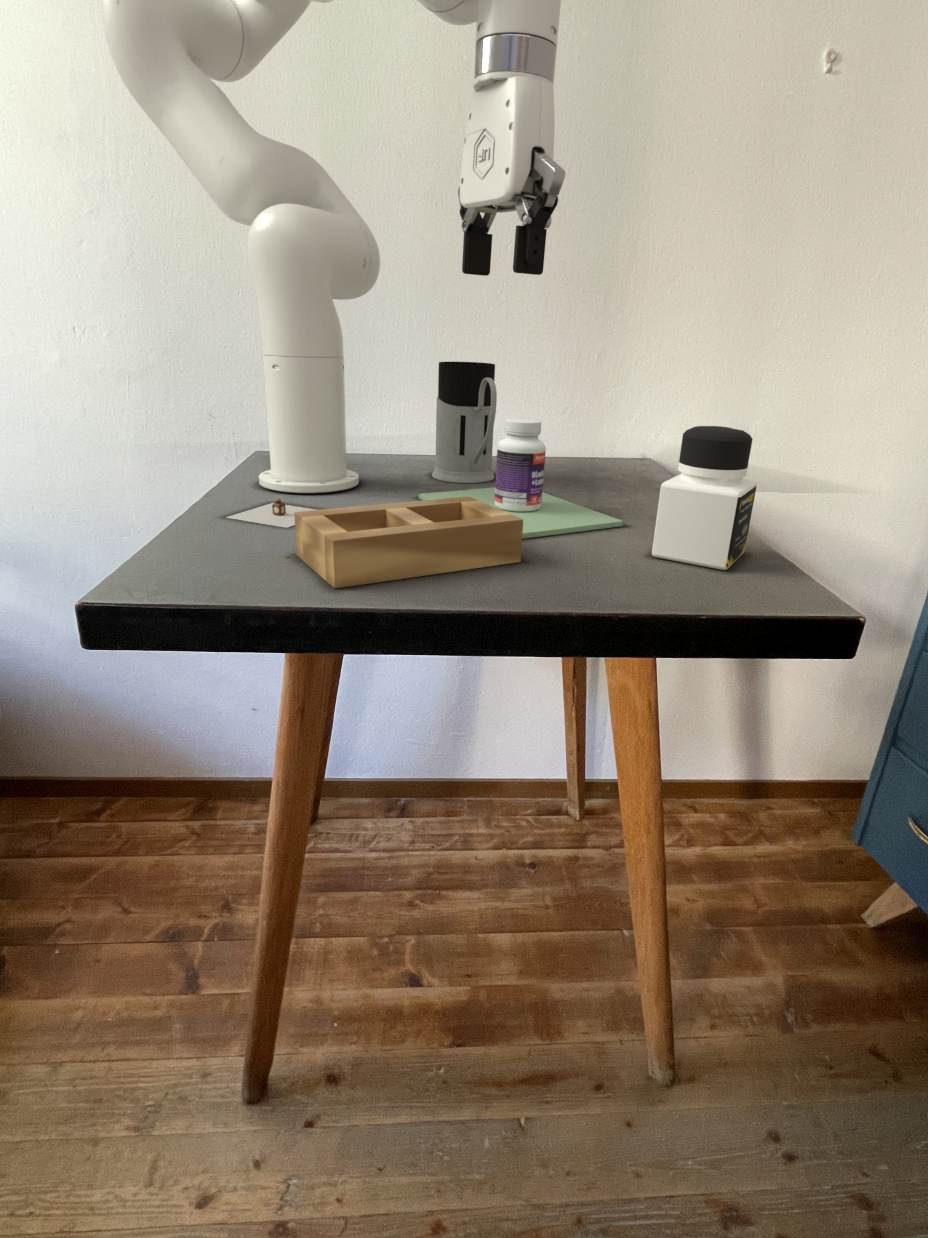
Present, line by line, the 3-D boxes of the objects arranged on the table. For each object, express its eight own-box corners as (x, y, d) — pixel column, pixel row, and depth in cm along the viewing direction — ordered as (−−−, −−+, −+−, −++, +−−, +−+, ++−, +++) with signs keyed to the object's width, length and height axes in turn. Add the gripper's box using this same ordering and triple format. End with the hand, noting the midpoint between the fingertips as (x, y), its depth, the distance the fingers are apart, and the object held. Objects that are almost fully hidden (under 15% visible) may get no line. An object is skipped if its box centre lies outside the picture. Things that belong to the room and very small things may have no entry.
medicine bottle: (726, 571, 66) (750, 436, 62) (650, 557, 70) (667, 427, 65) (744, 553, 72) (768, 427, 68) (673, 540, 76) (690, 420, 71)
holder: (296, 555, 67) (294, 511, 65) (467, 534, 75) (468, 496, 74) (334, 589, 59) (332, 540, 57) (520, 562, 67) (523, 519, 66)
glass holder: (480, 469, 108) (485, 361, 103) (520, 489, 96) (528, 368, 91) (423, 471, 105) (425, 360, 100) (457, 492, 93) (461, 367, 88)
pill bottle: (538, 514, 82) (545, 424, 78) (490, 510, 82) (495, 421, 79) (543, 503, 86) (550, 418, 83) (498, 500, 87) (502, 415, 84)
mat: (418, 498, 89) (418, 493, 89) (521, 489, 96) (522, 484, 96) (507, 540, 73) (507, 535, 73) (623, 526, 80) (623, 520, 80)
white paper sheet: (331, 511, 82) (330, 495, 81) (286, 527, 75) (285, 509, 75) (272, 502, 85) (271, 486, 84) (225, 517, 78) (223, 500, 78)
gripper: (435, 83, 74) (428, 272, 80) (534, 38, 60) (517, 270, 67) (498, 97, 77) (487, 277, 84) (605, 58, 64) (582, 276, 70)
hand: (500, 273), depth 75 cm, fingers open, 9 cm apart
